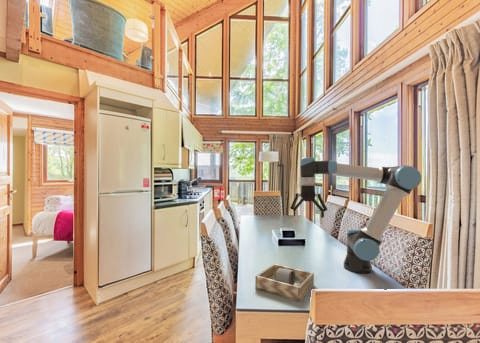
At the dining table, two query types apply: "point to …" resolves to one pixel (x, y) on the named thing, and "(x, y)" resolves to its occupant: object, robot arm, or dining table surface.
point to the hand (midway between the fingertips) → (308, 222)
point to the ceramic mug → (285, 276)
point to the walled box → (293, 292)
